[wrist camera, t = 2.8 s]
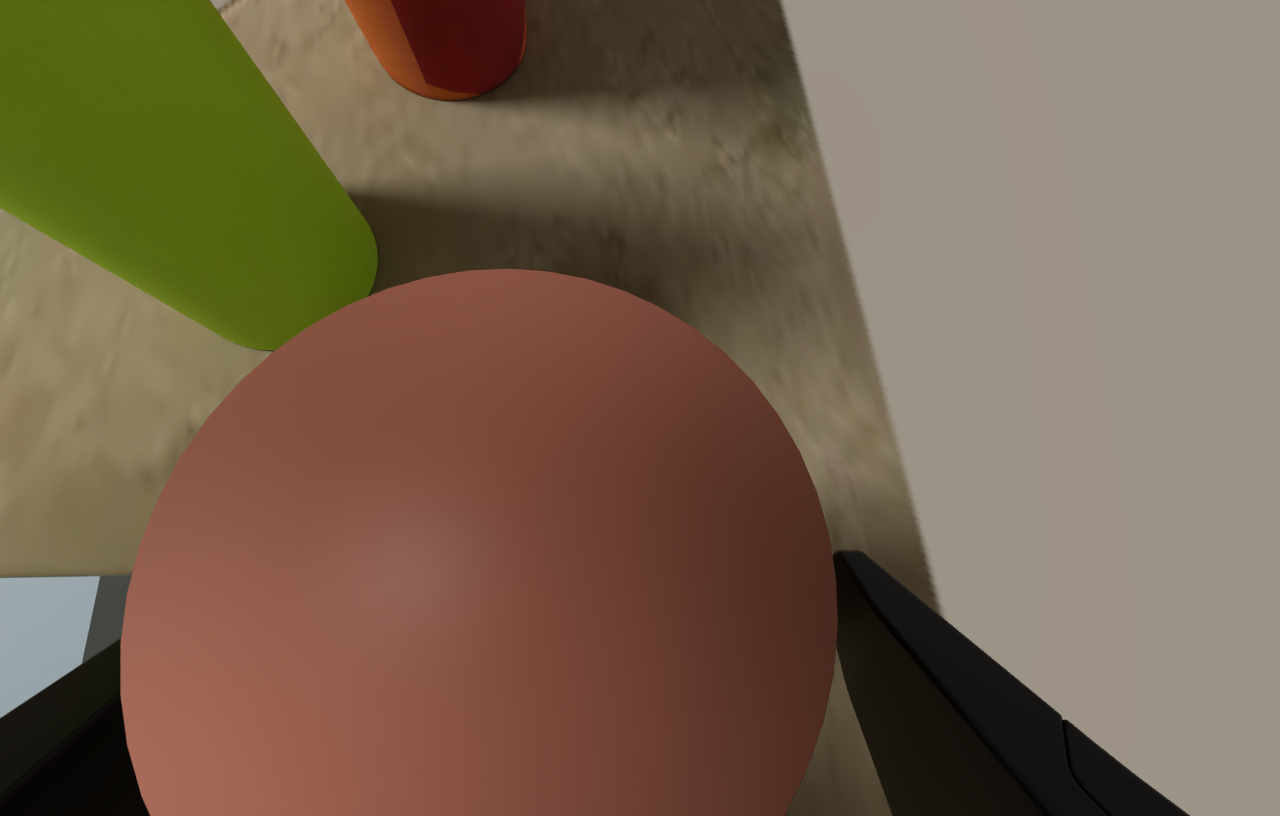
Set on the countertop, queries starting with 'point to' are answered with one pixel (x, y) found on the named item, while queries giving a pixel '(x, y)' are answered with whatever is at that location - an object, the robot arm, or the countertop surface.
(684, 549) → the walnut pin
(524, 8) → the paper cup
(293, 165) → the soap dispenser
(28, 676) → the hole block
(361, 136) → the countertop surface
